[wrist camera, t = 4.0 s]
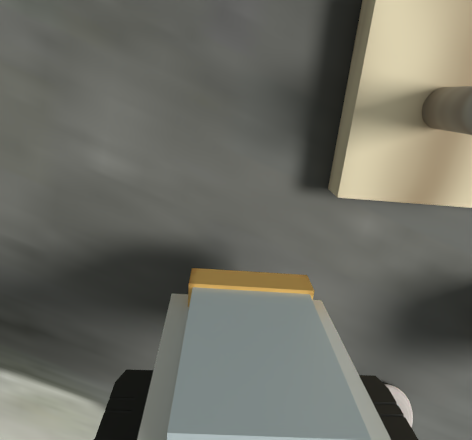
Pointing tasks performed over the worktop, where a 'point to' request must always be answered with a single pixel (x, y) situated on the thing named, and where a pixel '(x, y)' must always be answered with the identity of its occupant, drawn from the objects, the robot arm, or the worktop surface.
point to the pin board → (408, 105)
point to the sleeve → (259, 364)
